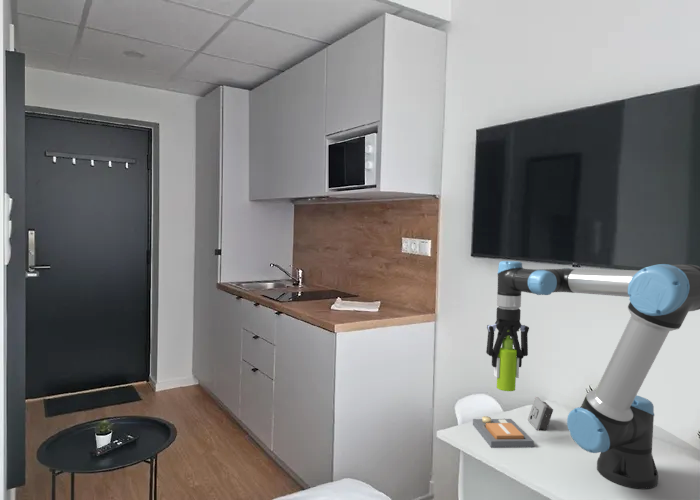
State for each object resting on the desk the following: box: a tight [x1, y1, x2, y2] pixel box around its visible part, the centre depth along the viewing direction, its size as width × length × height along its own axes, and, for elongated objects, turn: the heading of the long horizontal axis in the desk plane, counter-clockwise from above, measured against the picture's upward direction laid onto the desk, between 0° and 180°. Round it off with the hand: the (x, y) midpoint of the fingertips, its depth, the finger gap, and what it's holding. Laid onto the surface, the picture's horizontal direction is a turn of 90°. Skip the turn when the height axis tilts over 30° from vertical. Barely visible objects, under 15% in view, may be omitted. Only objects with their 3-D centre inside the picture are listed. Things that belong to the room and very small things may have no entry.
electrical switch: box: [527, 396, 554, 431], centre depth 170 cm, size 9×5×9 cm, turn 178°
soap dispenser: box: [496, 329, 520, 392], centre depth 158 cm, size 6×7×20 cm
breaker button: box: [486, 423, 524, 439], centre depth 159 cm, size 10×9×3 cm
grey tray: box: [472, 416, 535, 449], centre depth 161 cm, size 18×14×4 cm
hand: (506, 376), depth 158 cm, fingers closed on soap dispenser, 6 cm apart
